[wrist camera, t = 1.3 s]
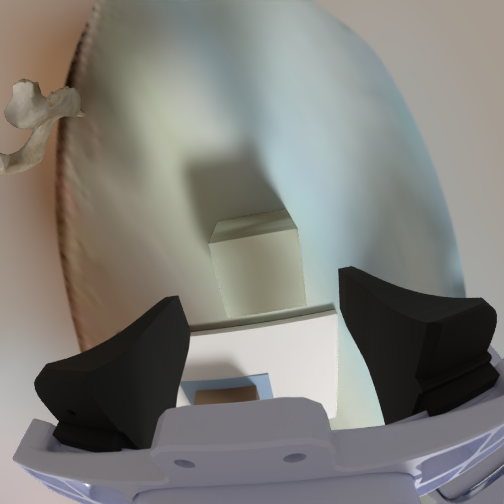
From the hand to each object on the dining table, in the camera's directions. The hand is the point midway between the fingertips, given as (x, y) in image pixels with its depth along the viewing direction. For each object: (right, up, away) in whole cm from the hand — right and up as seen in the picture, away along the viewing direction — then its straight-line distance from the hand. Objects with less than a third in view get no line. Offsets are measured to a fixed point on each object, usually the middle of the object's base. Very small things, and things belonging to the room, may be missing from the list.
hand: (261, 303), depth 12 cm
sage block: (0, +3, +7) cm, 7 cm away
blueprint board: (-2, -10, +11) cm, 15 cm away
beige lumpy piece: (-15, +12, +3) cm, 20 cm away
